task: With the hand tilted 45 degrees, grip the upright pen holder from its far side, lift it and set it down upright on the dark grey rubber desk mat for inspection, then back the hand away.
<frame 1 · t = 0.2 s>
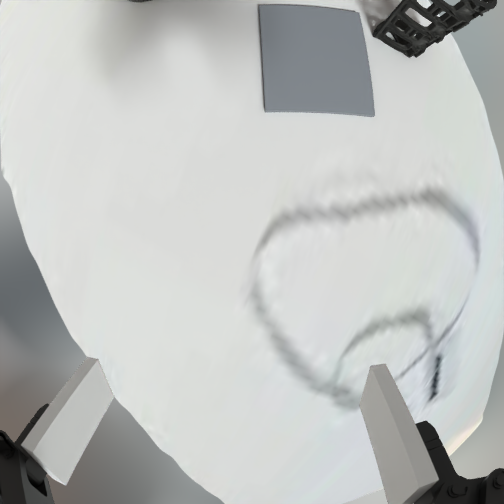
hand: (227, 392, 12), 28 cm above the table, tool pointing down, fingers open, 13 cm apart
holder: (402, 39, 28), on the table
mat: (316, 55, 31), on the table
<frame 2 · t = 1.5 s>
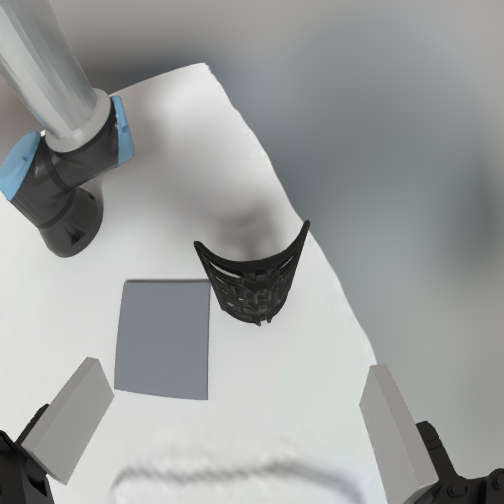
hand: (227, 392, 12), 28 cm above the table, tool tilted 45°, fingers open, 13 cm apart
holder: (258, 302, 42), on the table
mat: (161, 339, 40), on the table
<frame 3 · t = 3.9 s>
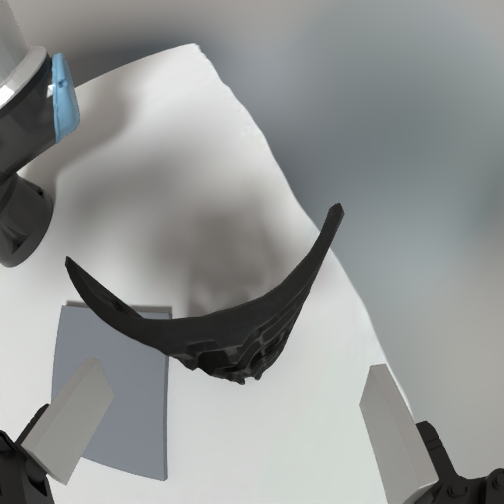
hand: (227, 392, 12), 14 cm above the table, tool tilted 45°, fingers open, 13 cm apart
holder: (242, 346, 26), on the table
mat: (104, 389, 24), on the table
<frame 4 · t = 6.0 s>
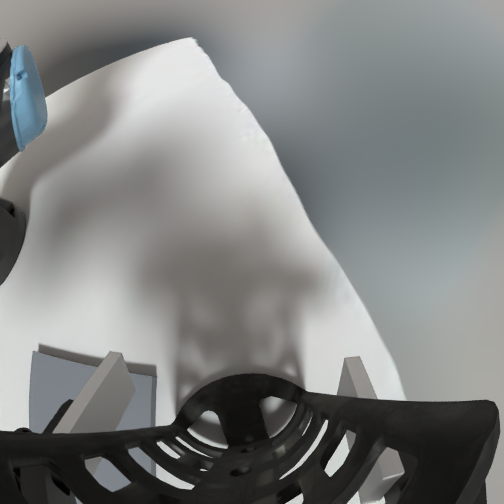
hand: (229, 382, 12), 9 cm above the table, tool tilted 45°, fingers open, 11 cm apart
holder: (245, 417, 19), on the table, touching gripper
mat: (85, 451, 17), on the table
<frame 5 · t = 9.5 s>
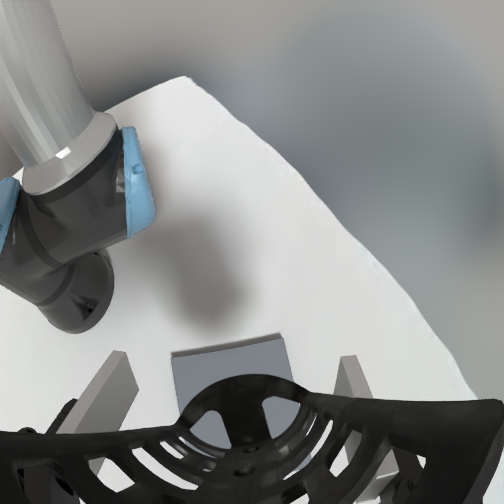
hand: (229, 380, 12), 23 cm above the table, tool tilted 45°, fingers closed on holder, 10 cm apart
holder: (248, 418, 19), point 14 cm above the table, touching gripper
mat: (239, 415, 31), on the table
when the fingers open (11 cm above the table, at t = 13.0 s): holder stays where it is, resting on mat.
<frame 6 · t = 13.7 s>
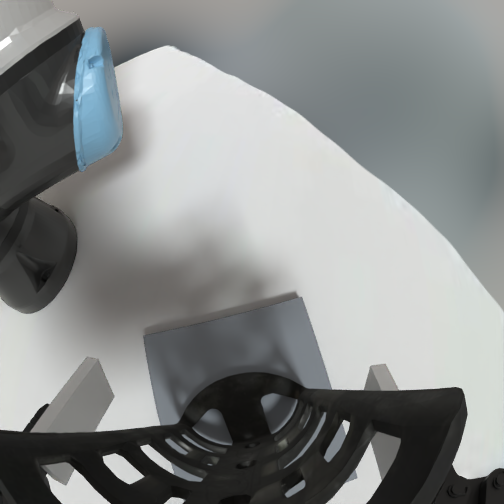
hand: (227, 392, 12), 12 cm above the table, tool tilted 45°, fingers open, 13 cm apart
holder: (247, 415, 20), point 1 cm above the table, touching mat
mat: (246, 415, 21), on the table
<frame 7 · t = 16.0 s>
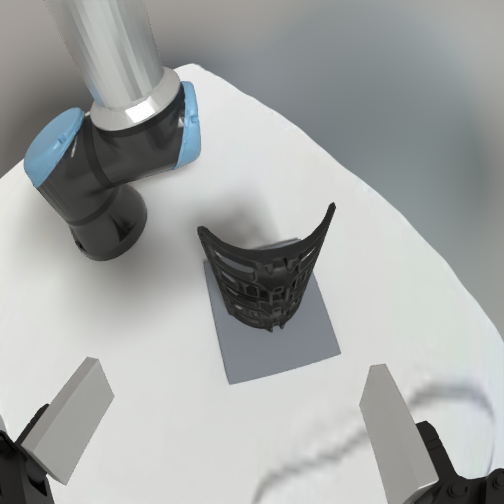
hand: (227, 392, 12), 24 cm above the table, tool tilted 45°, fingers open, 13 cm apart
holder: (269, 306, 38), point 1 cm above the table, touching mat
mat: (268, 309, 38), on the table
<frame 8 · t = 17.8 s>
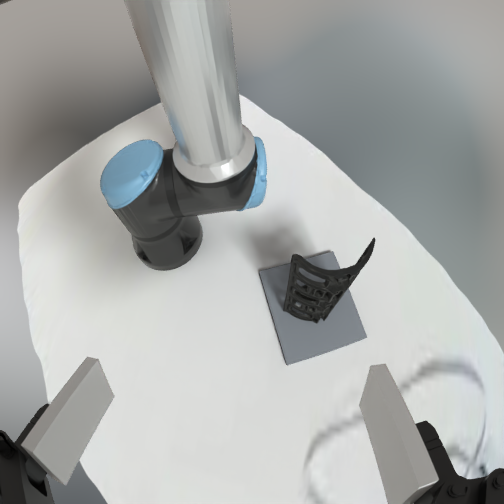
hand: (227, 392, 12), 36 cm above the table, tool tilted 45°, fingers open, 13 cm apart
holder: (313, 303, 49), point 1 cm above the table, touching mat
mat: (312, 306, 49), on the table
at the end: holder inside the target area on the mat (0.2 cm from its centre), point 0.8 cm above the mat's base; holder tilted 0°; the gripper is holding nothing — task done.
